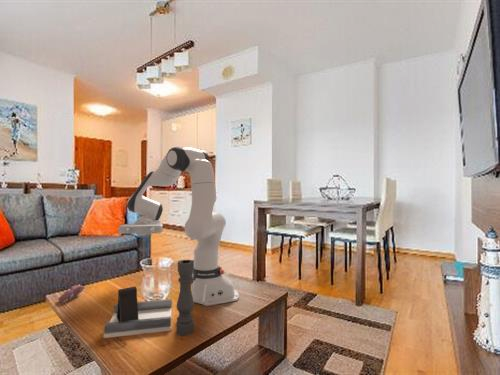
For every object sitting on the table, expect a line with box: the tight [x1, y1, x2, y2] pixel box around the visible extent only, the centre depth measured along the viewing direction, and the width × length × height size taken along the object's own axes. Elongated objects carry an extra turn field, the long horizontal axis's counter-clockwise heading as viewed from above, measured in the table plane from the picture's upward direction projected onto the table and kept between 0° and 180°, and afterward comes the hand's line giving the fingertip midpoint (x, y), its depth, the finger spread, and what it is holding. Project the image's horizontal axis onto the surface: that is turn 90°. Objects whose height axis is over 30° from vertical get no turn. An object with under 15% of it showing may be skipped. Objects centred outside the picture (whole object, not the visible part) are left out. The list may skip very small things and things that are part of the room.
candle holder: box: [175, 259, 195, 337], centre depth 102 cm, size 6×6×25 cm
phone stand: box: [117, 286, 139, 321], centre depth 107 cm, size 9×6×12 cm, turn 35°
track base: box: [103, 308, 173, 339], centre depth 109 cm, size 22×19×1 cm
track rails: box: [103, 298, 173, 335], centre depth 108 cm, size 22×17×3 cm
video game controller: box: [58, 283, 85, 303], centre depth 128 cm, size 10×5×7 cm, turn 171°
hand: (139, 231), depth 132 cm, fingers open, 8 cm apart
